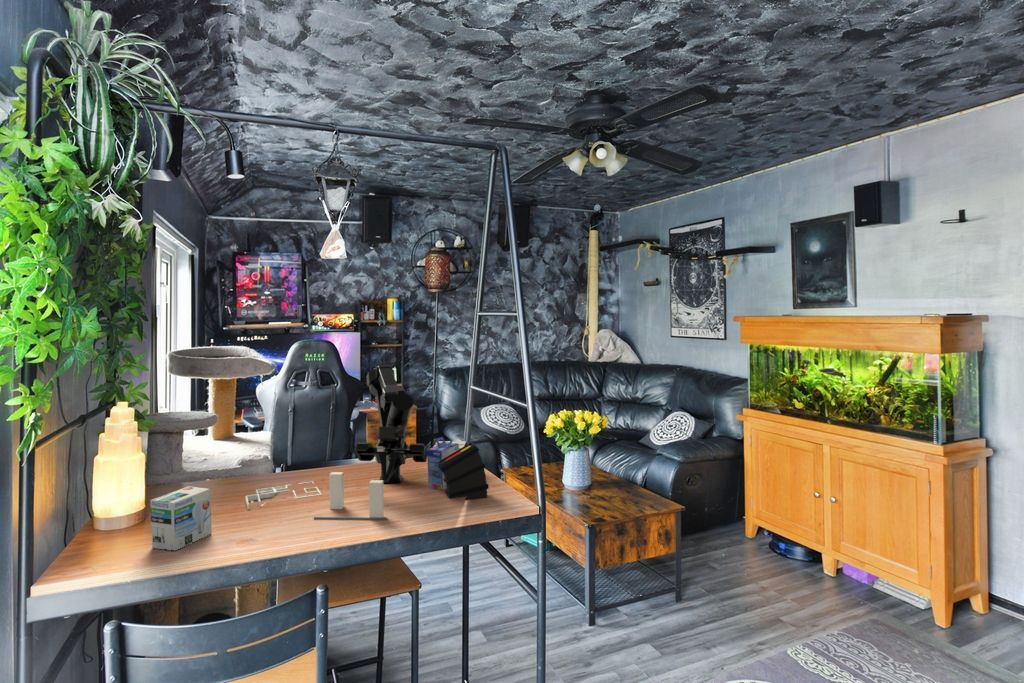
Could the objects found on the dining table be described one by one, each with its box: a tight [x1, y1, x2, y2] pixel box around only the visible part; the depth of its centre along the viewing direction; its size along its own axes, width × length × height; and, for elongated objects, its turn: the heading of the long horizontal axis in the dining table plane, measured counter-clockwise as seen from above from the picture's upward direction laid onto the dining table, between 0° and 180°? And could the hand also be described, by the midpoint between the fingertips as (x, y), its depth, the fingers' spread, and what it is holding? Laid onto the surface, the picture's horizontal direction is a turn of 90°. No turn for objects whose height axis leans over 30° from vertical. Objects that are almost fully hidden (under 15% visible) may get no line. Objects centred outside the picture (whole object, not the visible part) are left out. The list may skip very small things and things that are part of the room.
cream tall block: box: [328, 471, 345, 510], centre depth 147 cm, size 2×3×9 cm, turn 88°
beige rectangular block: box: [368, 479, 385, 518], centre depth 140 cm, size 2×3×9 cm, turn 88°
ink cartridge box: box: [426, 436, 459, 490], centre depth 167 cm, size 10×6×14 cm, turn 155°
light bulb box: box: [150, 485, 213, 552], centre depth 129 cm, size 11×7×11 cm, turn 164°
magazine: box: [438, 442, 490, 501], centre depth 158 cm, size 4×13×15 cm, turn 112°
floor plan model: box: [245, 480, 323, 510], centre depth 156 cm, size 19×25×2 cm
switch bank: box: [313, 516, 388, 521], centre depth 145 cm, size 12×18×2 cm, turn 88°
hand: (385, 480), depth 150 cm, fingers closed
